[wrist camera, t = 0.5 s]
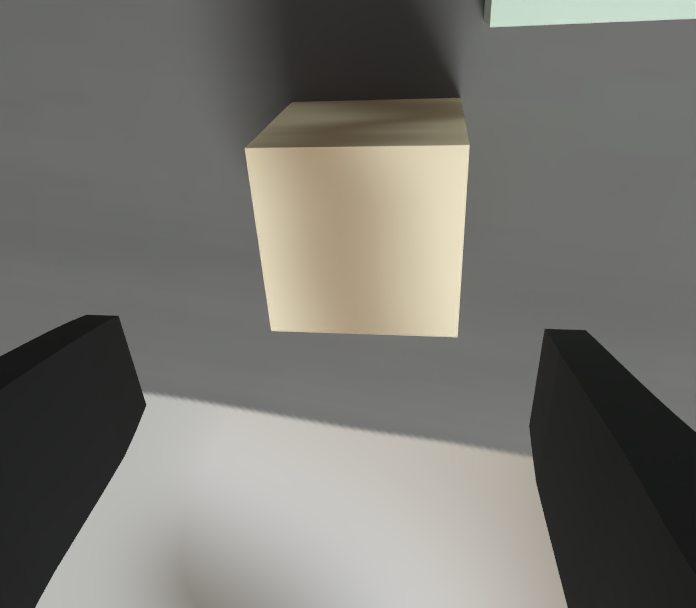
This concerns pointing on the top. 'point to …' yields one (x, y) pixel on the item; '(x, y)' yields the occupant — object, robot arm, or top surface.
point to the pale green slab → (583, 11)
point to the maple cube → (362, 215)
